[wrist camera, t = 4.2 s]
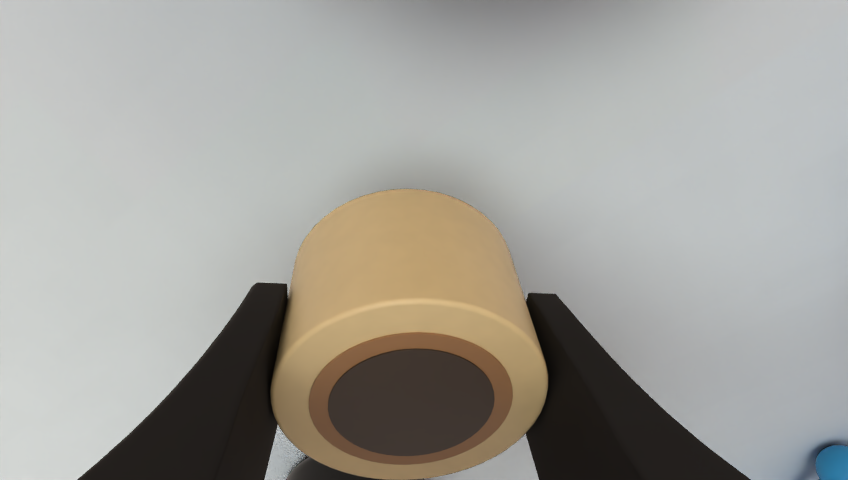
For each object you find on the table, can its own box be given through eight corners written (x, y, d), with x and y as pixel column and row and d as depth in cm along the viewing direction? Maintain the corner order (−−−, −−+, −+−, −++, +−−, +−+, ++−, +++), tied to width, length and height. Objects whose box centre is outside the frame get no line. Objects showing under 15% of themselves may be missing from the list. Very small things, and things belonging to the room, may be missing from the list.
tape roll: (555, 266, 13) (606, 388, 10) (415, 381, 15) (424, 509, 12) (388, 141, 11) (391, 250, 8) (250, 295, 13) (214, 427, 10)
